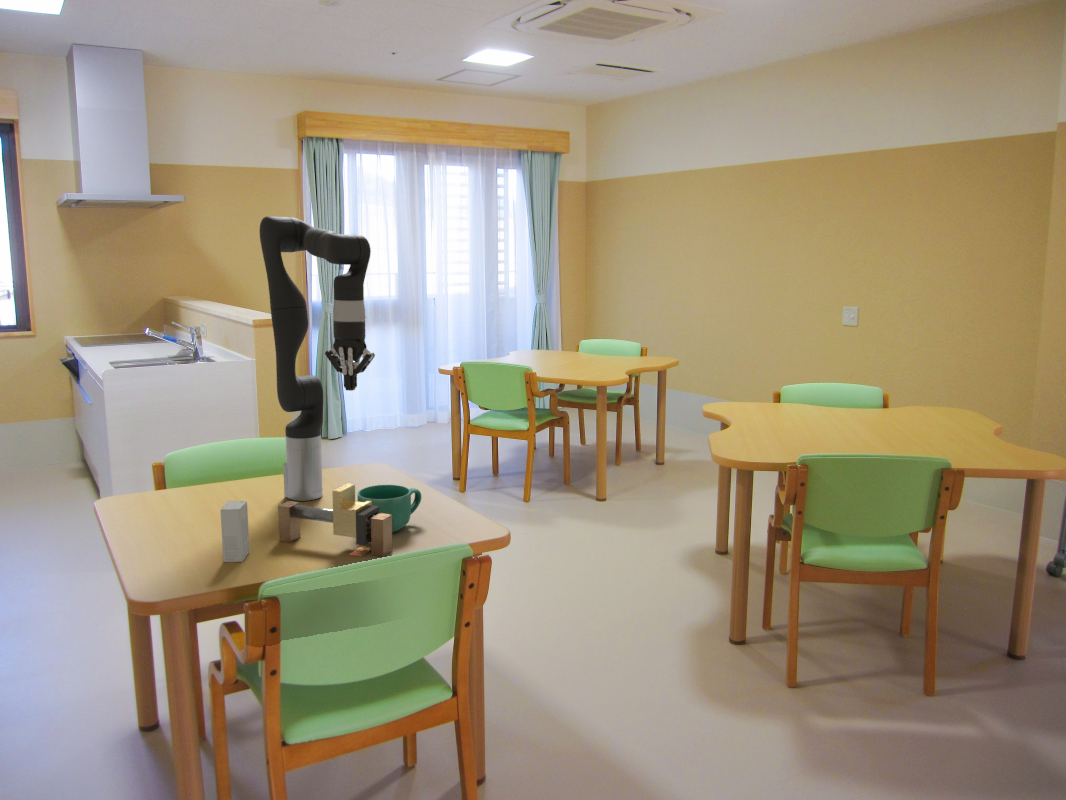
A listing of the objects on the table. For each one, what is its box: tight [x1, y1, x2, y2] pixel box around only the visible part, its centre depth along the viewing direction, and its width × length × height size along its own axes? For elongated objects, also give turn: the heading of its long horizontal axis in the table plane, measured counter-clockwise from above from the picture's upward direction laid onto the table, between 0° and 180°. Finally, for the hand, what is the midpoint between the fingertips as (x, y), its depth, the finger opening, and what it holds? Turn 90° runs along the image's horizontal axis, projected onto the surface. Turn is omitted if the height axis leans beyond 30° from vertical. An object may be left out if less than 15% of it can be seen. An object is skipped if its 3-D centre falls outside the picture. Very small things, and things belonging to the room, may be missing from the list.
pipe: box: [277, 500, 393, 558], centre depth 185 cm, size 27×8×8 cm, turn 72°
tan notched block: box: [331, 483, 372, 539], centre depth 183 cm, size 6×7×10 cm
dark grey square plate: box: [355, 505, 380, 546], centre depth 182 cm, size 2×7×7 cm, turn 162°
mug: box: [357, 484, 422, 533], centre depth 198 cm, size 17×13×10 cm
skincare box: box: [220, 500, 250, 563], centre depth 177 cm, size 6×4×12 cm
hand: (350, 389), depth 199 cm, fingers closed
